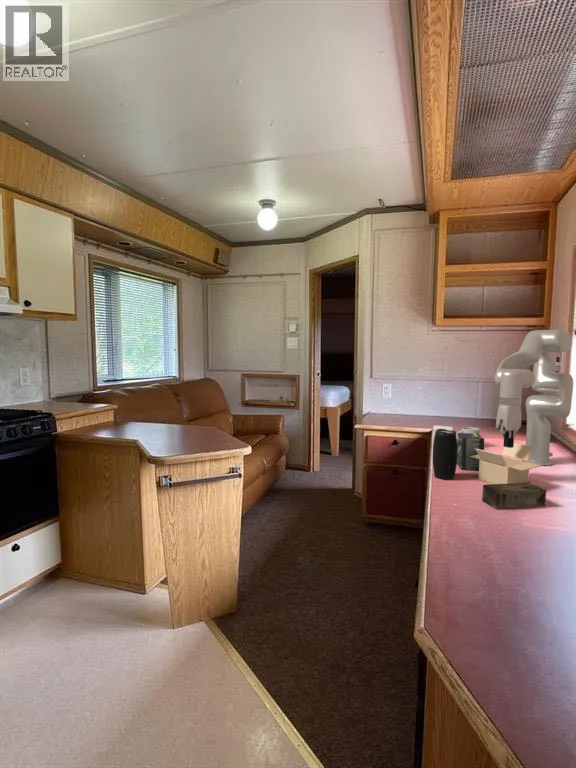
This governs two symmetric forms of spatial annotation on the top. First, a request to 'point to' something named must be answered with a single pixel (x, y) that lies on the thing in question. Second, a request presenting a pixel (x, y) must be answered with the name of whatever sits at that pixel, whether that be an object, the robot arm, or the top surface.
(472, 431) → the mug
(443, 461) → the portable speaker
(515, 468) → the carton
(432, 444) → the supplement box
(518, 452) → the flap
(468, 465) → the tampon box
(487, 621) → the top surface
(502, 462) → the flap
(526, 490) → the beverage carton
